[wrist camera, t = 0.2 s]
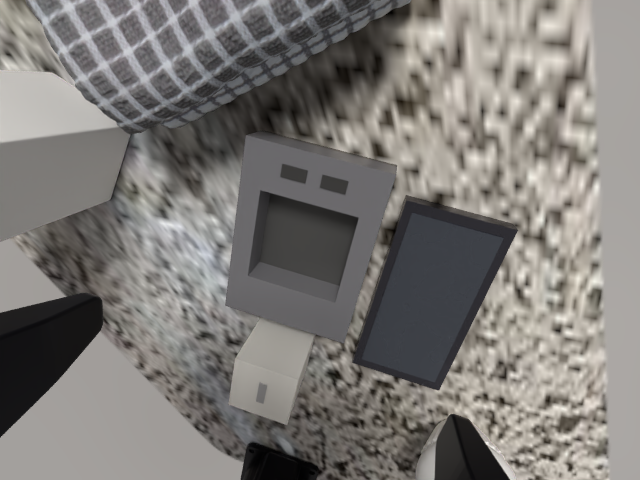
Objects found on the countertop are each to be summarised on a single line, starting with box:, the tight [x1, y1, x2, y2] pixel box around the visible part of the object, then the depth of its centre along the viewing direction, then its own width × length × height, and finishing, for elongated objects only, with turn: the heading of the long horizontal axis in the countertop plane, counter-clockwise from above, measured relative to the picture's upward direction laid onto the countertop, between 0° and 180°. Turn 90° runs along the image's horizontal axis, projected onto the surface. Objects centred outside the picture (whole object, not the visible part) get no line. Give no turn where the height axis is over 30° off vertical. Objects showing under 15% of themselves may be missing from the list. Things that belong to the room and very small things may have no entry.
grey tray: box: [225, 130, 397, 343], centre depth 22 cm, size 11×8×2 cm
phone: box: [352, 195, 518, 390], centre depth 22 cm, size 12×6×1 cm, turn 168°
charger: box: [228, 317, 315, 425], centre depth 24 cm, size 4×4×5 cm
